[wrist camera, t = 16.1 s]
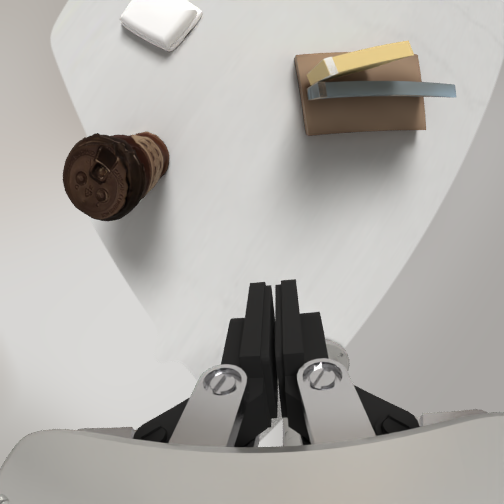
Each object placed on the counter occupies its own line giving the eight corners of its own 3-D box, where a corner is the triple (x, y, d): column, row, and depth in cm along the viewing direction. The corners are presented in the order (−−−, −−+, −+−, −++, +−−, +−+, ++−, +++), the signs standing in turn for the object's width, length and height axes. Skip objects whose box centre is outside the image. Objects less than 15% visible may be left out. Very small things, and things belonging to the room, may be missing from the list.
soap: (207, 12, 28) (202, 5, 25) (172, 56, 30) (164, 52, 28) (152, -16, 26) (144, -24, 23) (119, 25, 28) (109, 21, 26)
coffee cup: (172, 114, 33) (123, 121, 22) (188, 180, 37) (150, 217, 25) (109, 135, 34) (46, 153, 23) (126, 195, 38) (72, 235, 26)
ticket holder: (417, 127, 32) (462, 138, 22) (305, 134, 33) (319, 144, 24) (408, 57, 28) (453, 45, 19) (294, 58, 30) (303, 39, 20)
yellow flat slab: (306, 74, 27) (323, 58, 18) (367, 57, 26) (408, 39, 17) (310, 85, 28) (329, 75, 19) (372, 68, 26) (414, 55, 17)
